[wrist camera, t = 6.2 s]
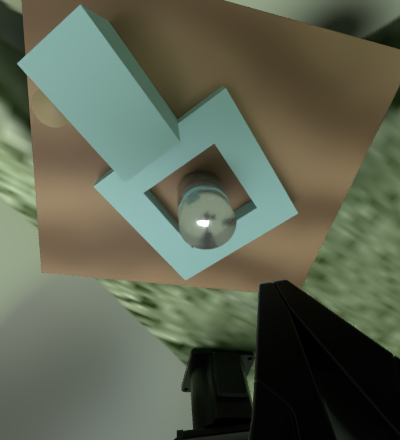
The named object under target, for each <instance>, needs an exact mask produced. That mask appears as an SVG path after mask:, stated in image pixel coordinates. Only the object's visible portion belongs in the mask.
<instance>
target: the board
mask: <svg viewBox="0 0 400 440" xmlns="http://www.w3.org/2000/svg"><path fill="white" fill-rule="evenodd" d="M80 4H81V5H82V6H84V7H86V8H87V9H89V10H91V11H92V12H94V13H96V14H98V15H99V16H101V17H103V18H104V19H106V20H108V21H109V22H110V24H111V25H112V27H113V28H114V30H115V31H116V32H117V34H118V35H119V37H120V38H121V40H122V41H123V42H124V44H125V45H126V47H127V48H128V50H129V51H130V52H131V54H132V55H133V57H134V58H135V59H136V61H137V62H138V64H139V65H140V67H141V68H142V69H143V71H144V72H145V74H146V75H147V77H148V78H149V79H150V81H151V82H152V84H153V85H154V87H155V88H156V89H157V91H158V92H159V94H160V95H161V97H162V98H163V99H164V101H165V102H166V104H167V105H168V107H169V108H170V109H171V111H172V112H173V114H174V115H175V117H176V118H177V119H179V118H180V117H181V116H183V115H184V114H185V113H187V112H188V111H189V110H191V109H192V108H193V107H195V106H196V105H197V104H199V103H200V102H201V101H203V100H204V99H205V98H207V97H208V96H209V95H211V94H212V93H213V92H215V91H216V90H217V89H219V88H220V87H221V86H223V87H225V88H226V89H227V91H228V92H229V94H230V96H231V98H232V99H233V101H234V103H235V105H236V106H237V108H238V110H239V111H240V113H241V115H242V117H243V118H244V120H245V122H246V124H247V125H248V127H249V129H250V130H251V132H252V134H253V136H254V137H255V139H256V141H257V143H258V144H259V146H260V148H261V150H262V151H263V153H264V155H265V156H266V158H267V160H268V162H269V163H270V165H271V167H272V169H273V170H274V172H275V174H276V175H277V177H278V179H279V181H280V182H281V184H282V186H283V188H284V189H285V191H286V193H287V195H288V196H289V198H290V200H291V201H292V203H293V205H294V207H295V208H296V210H297V212H298V214H296V215H295V216H293V217H291V218H290V219H288V220H286V221H285V222H283V223H281V224H280V225H278V226H276V227H275V228H273V229H271V230H270V231H268V232H266V233H264V234H263V235H261V236H259V237H258V238H256V239H254V240H253V241H251V242H249V243H248V244H246V245H244V246H243V247H241V248H239V249H238V250H236V251H234V252H233V253H231V254H229V255H228V256H226V257H224V258H223V259H221V260H219V261H217V262H216V263H214V264H212V265H211V266H209V267H207V268H206V269H204V270H202V271H201V272H199V273H197V274H196V275H194V276H192V277H191V278H189V279H187V280H186V281H185V280H184V279H183V278H182V277H181V276H180V275H179V273H178V272H177V271H176V270H175V269H174V268H173V267H172V266H171V265H170V264H169V263H168V262H167V261H166V260H165V259H164V258H163V257H162V256H161V255H160V254H159V253H158V252H157V251H156V250H155V249H154V248H153V247H152V246H151V245H150V244H149V243H148V242H147V241H146V240H145V239H144V238H143V237H142V236H141V235H140V234H139V233H138V232H137V231H136V230H135V229H134V228H133V227H132V226H131V224H130V223H129V222H128V221H127V220H126V219H125V218H124V217H123V216H122V215H121V214H120V213H119V212H118V211H117V210H116V209H115V208H114V207H113V206H112V205H111V204H110V203H109V202H108V201H107V200H106V199H105V198H104V197H103V196H102V195H101V194H100V193H99V192H98V191H97V190H96V189H95V188H94V187H93V186H94V185H95V183H96V181H97V179H98V178H100V177H101V176H102V175H104V174H105V173H106V172H108V171H109V170H110V169H112V168H111V167H110V166H109V165H108V164H107V163H106V161H105V160H104V159H103V158H102V157H101V156H100V155H99V154H98V153H97V152H96V150H95V149H94V148H93V147H92V146H91V145H90V144H89V143H88V142H87V140H86V139H85V138H84V137H83V136H82V135H81V134H80V133H79V132H78V131H77V129H76V128H75V127H74V126H73V125H72V124H71V123H70V122H69V123H67V124H66V125H64V126H62V127H58V128H54V127H49V126H47V125H45V124H43V123H42V122H40V121H39V120H38V119H37V117H36V116H35V114H34V112H33V110H32V106H31V100H32V97H33V95H34V93H35V92H36V91H37V90H39V87H38V86H37V85H36V84H35V83H34V82H33V81H32V80H31V79H30V78H29V76H28V75H27V80H28V94H29V108H30V121H31V135H32V149H33V162H34V176H35V190H36V203H37V217H38V231H39V245H40V258H41V271H42V273H52V274H63V275H73V276H85V277H95V278H106V279H117V280H128V281H139V282H150V283H161V284H172V285H183V286H194V287H205V288H216V289H227V290H238V291H248V292H259V284H261V283H266V282H272V283H273V282H274V281H278V280H284V279H286V280H288V281H290V282H291V283H292V284H294V285H295V286H297V287H298V288H299V289H301V287H302V285H303V283H304V281H305V278H306V276H307V274H308V272H309V270H310V268H311V266H312V264H313V262H314V260H315V258H316V256H317V254H318V252H319V250H320V248H321V246H322V244H323V242H324V240H325V237H326V235H327V233H328V231H329V229H330V227H331V225H332V223H333V221H334V219H335V217H336V215H337V213H338V211H339V209H340V207H341V205H342V203H343V201H344V199H345V196H346V194H347V192H348V190H349V188H350V186H351V184H352V182H353V180H354V178H355V176H356V174H357V172H358V170H359V168H360V166H361V164H362V162H363V160H364V157H365V155H366V153H367V151H368V149H369V147H370V145H371V143H372V141H373V139H374V137H375V135H376V133H377V131H378V129H379V127H380V125H381V123H382V121H383V119H384V116H385V114H386V112H387V110H388V108H389V106H390V104H391V102H392V100H393V98H394V96H395V94H396V92H397V90H398V88H399V86H400V49H396V48H393V47H389V46H386V45H382V44H379V43H375V42H371V41H368V40H364V39H361V38H357V37H353V36H350V35H346V34H343V33H339V32H335V31H332V30H328V29H325V28H321V27H318V26H314V25H310V24H307V23H303V22H299V21H296V20H292V19H289V18H285V17H282V16H278V15H275V14H271V13H267V12H264V11H260V10H257V9H253V8H250V7H246V6H242V5H239V4H235V3H231V2H228V1H224V0H22V12H23V26H24V39H25V53H26V55H27V54H28V53H29V52H30V51H31V50H32V49H33V48H34V47H35V46H36V45H38V44H39V43H40V42H41V41H42V40H43V39H44V38H45V37H46V36H47V35H48V34H49V33H50V32H51V31H52V30H54V29H55V28H56V27H57V26H58V25H59V24H60V23H61V22H62V21H63V20H64V19H65V18H66V17H67V16H68V15H70V14H71V13H72V12H73V11H74V10H75V9H76V8H77V7H78V6H79V5H80ZM196 170H206V171H209V172H212V173H214V174H215V175H216V176H217V177H218V178H219V179H220V181H221V183H222V185H223V187H224V190H225V192H226V195H227V197H228V199H229V202H230V204H231V207H232V209H233V211H235V210H237V209H238V208H240V207H242V206H243V205H245V204H246V203H248V202H249V201H251V198H250V197H249V195H248V193H247V192H246V190H245V189H244V187H243V186H242V184H241V183H240V181H239V180H238V178H237V177H236V175H235V174H234V172H233V171H232V169H231V168H230V166H229V165H228V163H227V162H226V160H225V159H224V157H223V156H222V154H221V153H220V151H219V150H218V148H217V147H216V145H215V144H213V145H211V146H210V147H208V148H207V149H206V150H204V151H203V152H201V153H200V154H198V155H197V156H196V157H194V158H193V159H191V160H190V161H189V162H187V163H186V164H184V165H183V166H181V167H180V168H179V169H177V170H176V171H174V172H173V173H171V174H170V175H169V176H167V177H166V178H164V179H163V180H161V181H160V182H159V183H157V184H156V185H154V186H153V187H151V188H150V189H149V190H150V192H151V193H152V194H153V195H154V196H155V197H156V199H157V200H158V201H159V202H160V203H161V204H162V205H163V207H164V208H165V209H166V210H167V211H168V212H169V213H170V215H171V216H172V217H173V218H174V219H175V220H176V222H177V223H178V224H179V218H178V200H177V188H178V185H179V183H180V181H181V179H182V178H183V177H184V176H185V175H187V174H188V173H190V172H192V171H196Z"/></svg>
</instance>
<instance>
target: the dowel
mask: <svg viewBox="0 0 400 440" xmlns="http://www.w3.org/2000/svg"><path fill="white" fill-rule="evenodd" d="M31 106H32V110H33V112H34V114H35V116H36V117H37V119H38V120H39V121H40V122H42V123H43V124H45V125H47V126H49V127H54V128H58V127H62V126H64V125H66V124H67V123H69V121H68V119H67V118H66V117H65V116H64V115H63V114H62V113H61V112H60V111H59V110H58V108H57V107H56V106H55V105H54V104H53V103H52V102H51V101H50V100H49V99H48V97H47V96H46V95H45V94H44V93H43V92H42V91H41V90H40V89H39V90H37V91H36V92H35V93H34V95H33V97H32V100H31Z"/></svg>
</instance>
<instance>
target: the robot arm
mask: <svg viewBox="0 0 400 440" xmlns="http://www.w3.org/2000/svg"><path fill="white" fill-rule="evenodd" d="M254 359H255V377H254V381H255V382H254V394H253V402H252V398H251V394H250V390H249V386H248V382H247V378H246V377H247V375H248V373H249V370H250V368H251V366H252V364H253V362H254ZM182 391H183V392H191V405H192V418H193V419H192V421H193V430H186V431H183V430H177V438H176V439H174V440H400V359H399V358H398V357H396V356H394V357H393V354H392V353H391V352H389V351H388V350H386V349H385V348H383V347H382V346H381V345H379V344H378V343H376V342H375V341H373V340H372V339H371V338H369V337H368V336H366V335H365V334H364V333H362V332H361V331H359V330H358V329H356V328H355V327H354V326H352V325H351V324H349V323H348V322H346V321H345V320H344V319H342V318H341V317H339V316H338V315H336V314H335V313H334V312H332V311H331V310H329V309H328V308H327V307H325V306H324V305H322V304H321V303H319V302H318V301H317V300H315V299H314V298H312V297H311V296H309V295H308V294H307V293H305V292H304V291H302V290H301V289H299V288H298V287H297V286H295V285H294V284H292V283H291V282H290V281H288V280H286V279H284V280H278V281H274V282H273V283H272V282H266V283H261V284H259V293H258V314H257V335H256V356H254V353H253V352H244V351H224V350H205V349H194V350H192V351H191V354H190V358H189V361H188V365H187V368H186V371H185V375H184V379H183V382H182Z"/></svg>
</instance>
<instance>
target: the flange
mask: <svg viewBox="0 0 400 440" xmlns="http://www.w3.org/2000/svg"><path fill="white" fill-rule="evenodd" d="M17 64H18V65H19V66H20V68H21V69H22V70H23V71H24V72H25V73H26V74H27V75H28V76H29V78H30V79H31V80H32V81H33V82H34V83H35V84H36V85H37V86H38V87H39V89H40V90H41V91H42V92H43V93H44V94H45V95H46V96H47V97H48V99H49V100H50V101H51V102H52V103H53V104H54V105H55V106H56V107H57V108H58V110H59V111H60V112H61V113H62V114H63V115H64V116H65V117H66V118H67V119H68V121H69V122H70V123H71V124H72V125H73V126H74V127H75V128H76V129H77V131H78V132H79V133H80V134H81V135H82V136H83V137H84V138H85V139H86V140H87V142H88V143H89V144H90V145H91V146H92V147H93V148H94V149H95V150H96V152H97V153H98V154H99V155H100V156H101V157H102V158H103V159H104V160H105V161H106V163H107V164H108V165H109V166H110V167H111V168H112V169H110V170H109V171H108V172H106V173H105V174H104V175H102V176H101V177H100V178H98V179H97V181H96V183H95V185H94V186H93V187H94V188H95V189H96V190H97V191H98V192H99V193H100V194H101V195H102V196H103V197H104V198H105V199H106V200H107V201H108V202H109V203H110V204H111V205H112V206H113V207H114V208H115V209H116V210H117V211H118V212H119V213H120V214H121V215H122V216H123V217H124V218H125V219H126V220H127V221H128V222H129V223H130V224H131V226H132V227H133V228H134V229H135V230H136V231H137V232H138V233H139V234H140V235H141V236H142V237H143V238H144V239H145V240H146V241H147V242H148V243H149V244H150V245H151V246H152V247H153V248H154V249H155V250H156V251H157V252H158V253H159V254H160V255H161V256H162V257H163V258H164V259H165V260H166V261H167V262H168V263H169V264H170V265H171V266H172V267H173V268H174V269H175V270H176V271H177V272H178V273H179V275H180V276H181V277H182V278H183V279H184V280H185V281H186V280H187V279H189V278H191V277H192V276H194V275H196V274H197V273H199V272H201V271H202V270H204V269H206V268H207V267H209V266H211V265H212V264H214V263H216V262H217V261H219V260H221V259H223V258H224V257H226V256H228V255H229V254H231V253H233V252H234V251H236V250H238V249H239V248H241V247H243V246H244V245H246V244H248V243H249V242H251V241H253V240H254V239H256V238H258V237H259V236H261V235H263V234H264V233H266V232H268V231H270V230H271V229H273V228H275V227H276V226H278V225H280V224H281V223H283V222H285V221H286V220H288V219H290V218H291V217H293V216H295V215H296V214H298V212H297V210H296V208H295V207H294V205H293V203H292V201H291V200H290V198H289V196H288V195H287V193H286V191H285V189H284V188H283V186H282V184H281V182H280V181H279V179H278V177H277V175H276V174H275V172H274V170H273V169H272V167H271V165H270V163H269V162H268V160H267V158H266V156H265V155H264V153H263V151H262V150H261V148H260V146H259V144H258V143H257V141H256V139H255V137H254V136H253V134H252V132H251V130H250V129H249V127H248V125H247V124H246V122H245V120H244V118H243V117H242V115H241V113H240V111H239V110H238V108H237V106H236V105H235V103H234V101H233V99H232V98H231V96H230V94H229V92H228V91H227V89H226V88H225V87H223V86H221V87H220V88H219V89H217V90H216V91H215V92H213V93H212V94H211V95H209V96H208V97H207V98H205V99H204V100H203V101H201V102H200V103H199V104H197V105H196V106H195V107H193V108H192V109H191V110H189V111H188V112H187V113H185V114H184V115H183V116H181V117H180V118H179V119H177V118H176V117H175V115H174V114H173V112H172V111H171V109H170V108H169V107H168V105H167V104H166V102H165V101H164V99H163V98H162V97H161V95H160V94H159V92H158V91H157V89H156V88H155V87H154V85H153V84H152V82H151V81H150V79H149V78H148V77H147V75H146V74H145V72H144V71H143V69H142V68H141V67H140V65H139V64H138V62H137V61H136V59H135V58H134V57H133V55H132V54H131V52H130V51H129V50H128V48H127V47H126V45H125V44H124V42H123V41H122V40H121V38H120V37H119V35H118V34H117V32H116V31H115V30H114V28H113V27H112V25H111V24H110V22H109V21H108V20H106V19H104V18H103V17H101V16H99V15H98V14H96V13H94V12H92V11H91V10H89V9H87V8H86V7H84V6H82V5H81V4H80V5H79V6H78V7H77V8H76V9H75V10H74V11H73V12H72V13H71V14H70V15H68V16H67V17H66V18H65V19H64V20H63V21H62V22H61V23H60V24H59V25H58V26H57V27H56V28H55V29H54V30H52V31H51V32H50V33H49V34H48V35H47V36H46V37H45V38H44V39H43V40H42V41H41V42H40V43H39V44H38V45H36V46H35V47H34V48H33V49H32V50H31V51H30V52H29V53H28V54H27V55H26V56H25V57H24V58H23V59H22V60H20V61H19V62H18V63H17ZM213 144H215V145H216V147H217V148H218V150H219V151H220V153H221V154H222V156H223V157H224V159H225V160H226V162H227V163H228V165H229V166H230V168H231V169H232V171H233V172H234V174H235V175H236V177H237V178H238V180H239V181H240V183H241V184H242V186H243V187H244V189H245V190H246V192H247V193H248V195H249V197H250V198H251V201H249V202H248V203H246V204H245V205H243V206H242V207H240V208H238V209H237V210H235V211H234V214H235V216H236V222H237V224H236V230H235V232H234V234H233V236H232V237H231V239H230V240H229V241H228V242H226V243H225V244H224V245H222V246H220V247H217V248H214V249H208V250H204V249H198V248H194V247H192V246H190V245H189V244H188V243H186V242H185V241H184V239H183V238H182V236H181V234H180V231H179V224H178V223H177V222H176V220H175V219H174V218H173V217H172V216H171V215H170V213H169V212H168V211H167V210H166V209H165V208H164V207H163V205H162V204H161V203H160V202H159V201H158V200H157V199H156V197H155V196H154V195H153V194H152V193H151V192H150V190H149V189H150V188H151V187H153V186H154V185H156V184H157V183H159V182H160V181H161V180H163V179H164V178H166V177H167V176H169V175H170V174H171V173H173V172H174V171H176V170H177V169H179V168H180V167H181V166H183V165H184V164H186V163H187V162H189V161H190V160H191V159H193V158H194V157H196V156H197V155H198V154H200V153H201V152H203V151H204V150H206V149H207V148H208V147H210V146H211V145H213Z"/></svg>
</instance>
